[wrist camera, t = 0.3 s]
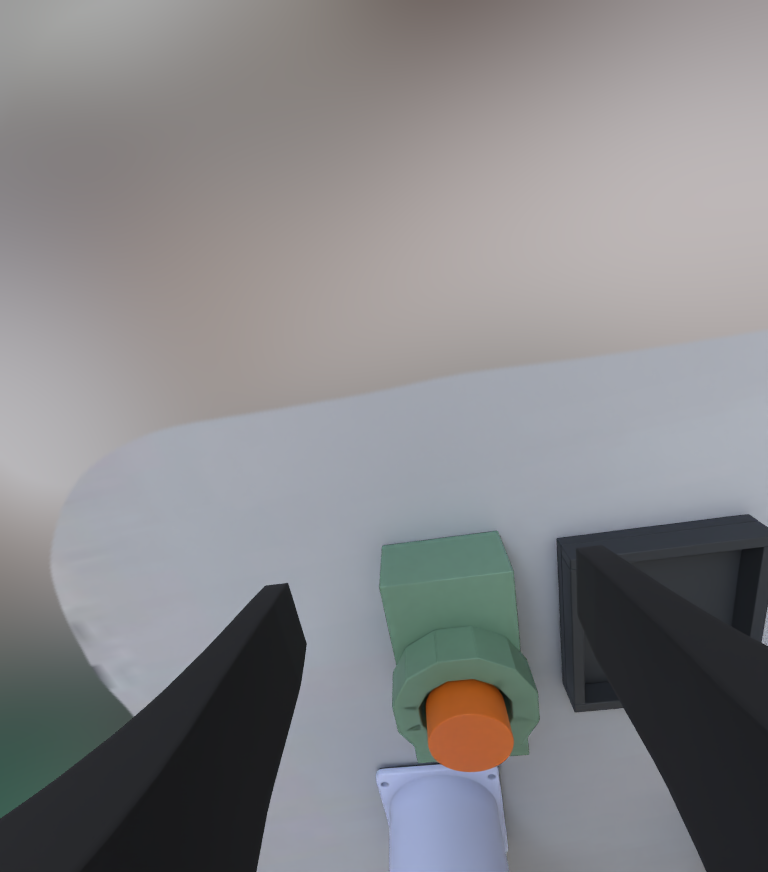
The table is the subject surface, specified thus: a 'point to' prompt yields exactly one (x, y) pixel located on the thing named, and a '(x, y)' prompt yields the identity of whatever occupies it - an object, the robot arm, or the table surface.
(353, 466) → the table surface
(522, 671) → the green button base
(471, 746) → the button
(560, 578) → the tray
